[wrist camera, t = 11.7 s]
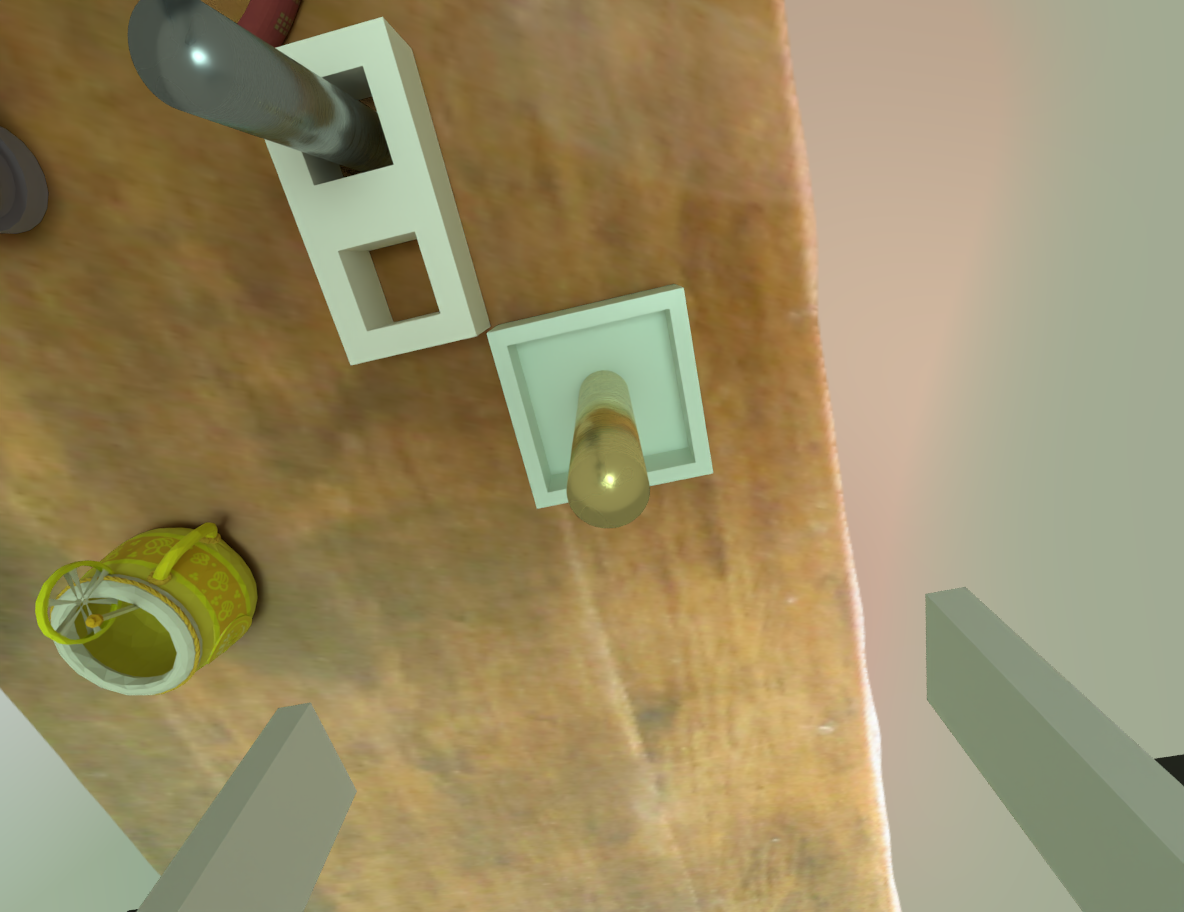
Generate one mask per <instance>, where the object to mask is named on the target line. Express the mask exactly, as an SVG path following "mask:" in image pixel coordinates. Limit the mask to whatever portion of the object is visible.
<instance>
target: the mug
mask: <svg viewBox="0 0 1184 912" xmlns="http://www.w3.org/2000/svg"><path fill="white" fill-rule="evenodd" d="M83 565H84V566H91V567H93V568H91V569H90V570H89V571H88V572H87V573H86V574H85V575H84V576H83V577H82V578H81V579H80V580H79V578H78V575H77V572H76V569H77V567H79V566H83ZM63 575H64V577H65V578H66V580H67V582H68V584H69V586H66V588H65V589H64V590H62V592H61V593H60V594H58V596H57V598H56V599H50V598H49V596H50V592H51V590H52V588H53V587H54V585H55V584H56V582H57V581H58V580H59V579H60V578H61V577H62V576H63ZM71 577H72V578H73V580H74V583H73V581H72V578H71ZM257 598H258V597H257V588H256V582H255V580H254V578H253V575H252V573H251V571H250V569H249V567H248V566H247V565H246V563H245V562H244V561H243V559H242V558H241V557H240V556H239V555H238V554H237V553H236V552H235V551H234V550H233V549H232V548H231V547H230V546H228V545H227V544H226V543H225V542H224V541H223V540H221V536H220V534H218V533H217V527H216V524H214V523H204V524H203V525H201V526H199V527H198V528H196V529H190V528H158V529H153V530H150V531H147V532H144V533H140V534H138V535H136V536H134V537H133V538H131V539H129V540H127V541H125V542H124V543H123V544H121V545H120V546H119V547H117V548H116V549H115V550H113V551H112V552H111V553H109V554H108V555H107V556H106V557H105V558H103V559H102V560H101V561H100V562H97V561H78V562H74V563H71V564H68V565H65V566H63V567H61V568H59V569H58V570H56V571H55V572H54V573H53V574H52V575H51V576H50V577H49V578H48V580H47V581H46V582H45V583H44V584H43V586H42V588H41V591H40V593H39V595H38V597H37V600H36V609H35V613H36V618H37V622H38V626H39V627H40V629H41V630H42V632H43V634H44V635H46V636H47V637H49V638H51V639H52V640H53V641H54V643H55V645H56V647H57V650H58V652H59V654H60V655H61V657H62V658H63V659H64V660H65V661H66V662H67V663H68V664H69V665H70V666H71V667H72V668H73V669H74V670H75V671H76V672H77V673H78V674H79V675H81V676H83V677H84V678H86V679H88V680H89V681H91V682H93V683H94V684H96V685H98V686H99V687H101V688H104V689H108V690H111V691H115V692H118V693H122V694H125V695H159V694H164V693H166V692H169V691H172V690H174V689H176V688H178V687H180V686H181V685H183V684H185V683H186V682H187V681H188V680H189V679H190V678H191V677H192V676H193V675H194V673H195V672H196V671H197V670H199V669H200V668H202V667H203V666H204V665H206V664H209V663H211V662H212V661H213V660H214V659H216V658H217V657H218V656H219V655H221V654H222V653H224V652H225V650H226V651H227V649H228V648H229V647H230V646H232V645H233V644H234V643H235V642H236V641H238V640H239V639H240V638H241V637H242V636H243V635H244V634H245V633H246V632H247V631H248V629H249V627H250V626H251V623H252V617H253V614H254V612H255V608H256V603H257ZM50 606H51V609H50V619H51V621H50V622H49V619H48V614H47V609H48V607H50Z"/></svg>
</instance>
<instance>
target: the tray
mask: <svg viewBox="0 0 1184 912" xmlns="http://www.w3.org/2000/svg"><path fill="white" fill-rule="evenodd" d="M487 337H488V340H489V344H490V347H491V351H492V354H493V358H494V361H495V365H496V368H497V372H498V375H499V378H500V382H501V385H502V389H503V392H504V396H505V399H506V403H507V406H508V410H509V413H510V417H511V420H512V424H513V427H514V430H515V434H516V437H517V441H518V444H519V448H520V451H521V455H522V458H523V462H524V465H525V469H526V472H527V476H528V479H529V482H530V486H531V489H532V493H533V496H534V500H535V503H536V507H537V509H538V508H543V507H548V506H553V505H558V504H563V503H568V499H567V491H566V489H567V480H568V472H569V465H570V458H571V450H572V443H573V435H574V428H575V420H576V413H577V405H578V398H579V391H580V387H581V384H582V383H583V381H584V380H585V379H586V377H588V376H589V375H590V374H592V373H594V372H597V371H601V370H607V371H612V372H614V373H616V374H618V375H619V376H621V377H622V378H623V379H624V381H625V382H626V384H627V386H628V390H629V394H630V399H631V403H632V408H633V412H634V417H635V421H636V426H637V430H638V435H639V439H640V444H641V448H642V453H643V457H644V462H645V466H646V471H647V475H648V480H649V485H650V486H653V485H658V484H663V483H668V482H672V481H677V480H682V479H687V478H692V477H697V476H702V475H707V474H712V473H713V468H712V462H711V456H710V450H709V443H708V437H707V431H706V425H705V418H704V412H703V406H702V400H701V394H700V387H699V381H698V375H697V369H696V362H695V356H694V350H693V344H692V337H691V331H690V325H689V319H688V312H687V306H686V300H685V294H684V287H681V286H679V285H676V284H672V285H667V286H663V287H659V288H654V289H650V290H646V291H641V292H637V293H633V294H629V295H624V296H620V297H616V298H611V299H607V300H603V301H599V302H594V303H590V304H586V305H581V306H577V307H573V308H569V309H564V310H560V311H556V312H551V313H547V314H543V315H538V316H534V317H530V318H526V319H521V320H517V321H513V322H508V323H504V324H500V325H497V326H496V327H494V328H493V329H492V330H490V331H489V332H487Z"/></svg>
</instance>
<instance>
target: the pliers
mask: <svg viewBox="0 0 1184 912" xmlns="http://www.w3.org/2000/svg"><path fill="white" fill-rule="evenodd" d="M300 2H301V0H250V3H249V5H248V7H247V9H246V11H245V13H244V14H243V16H242V17H241V19H240V20H239V22H238V23H237V24H238V25H240V26H241V27H243V28H244V29H246V30H248V31H249V32H251V33H252V34H254V35H255V36H257V37H259V38H260V39H262V40H263V41H265V42H266V43H268V44H270V45H271V46H273V47H274V48H276V47H280V46H281V45H282V43H283V41H284V40H285V38H286V36H287V34H288V32H289V30H290V28H291V26H292V23H293V21H294V18H295V15H296V13H297V10H298V7H299V4H300Z"/></svg>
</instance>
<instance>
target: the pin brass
mask: <svg viewBox="0 0 1184 912" xmlns="http://www.w3.org/2000/svg"><path fill="white" fill-rule="evenodd" d="M566 491H567V499H568V502H569V505H570V507H571V509H572V510H573V511H574V513H575V514H576V515H577V516H578V517H579V518H580V519H581V520H583V521H584V522H586V523H588V524H590V525H592V526H595V527H600V528H616V527H620V526H623V525H626V524H628V523H630V522H632V521H633V520H635V519H636V518H637V517H638V516H639V515H640V514H641V513H642V512H643V510H644V509H645V507H646V505H647V503H648V500H649V495H650V485H649V480H648V475H647V471H646V466H645V462H644V457H643V453H642V448H641V444H640V439H639V435H638V430H637V426H636V421H635V417H634V412H633V408H632V403H631V399H630V394H629V390H628V386H627V384H626V382H625V381H624V379H623V378H622V377H621V376H619V375H618V374H616V373H614V372H612V371H607V370H601V371H597V372H594V373H592V374H590V375H589V376H588V377H586V379H585V380H584V381H583V383H582V384H581V387H580V391H579V398H578V405H577V413H576V420H575V428H574V435H573V443H572V450H571V458H570V465H569V472H568V480H567V489H566Z"/></svg>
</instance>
